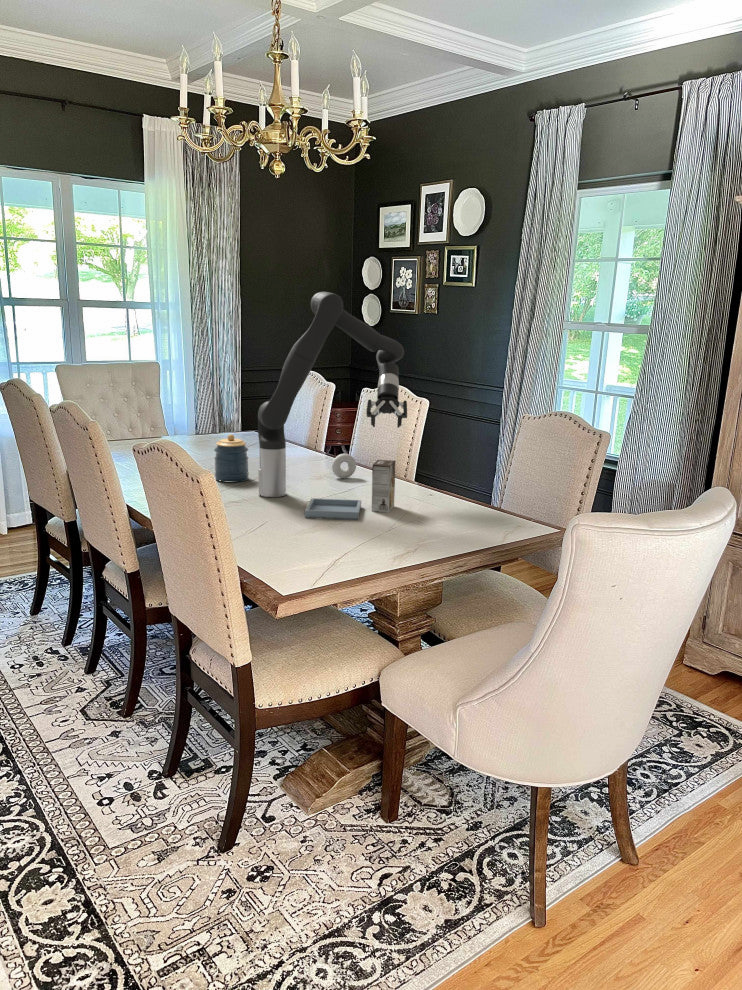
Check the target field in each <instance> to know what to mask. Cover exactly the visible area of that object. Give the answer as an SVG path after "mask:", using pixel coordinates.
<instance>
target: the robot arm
mask: <svg viewBox="0 0 742 990" xmlns="http://www.w3.org/2000/svg"><path fill="white" fill-rule="evenodd" d="M310 309H311V311H312V313H313V314H314V315H315V316H314V318H313V320H312V322H311V324H310V326H308V327H309V328H307V330H306V331H305V332H304V334H302V335H301V337H299V338H298V340H297V341H296V342H295V343H294V344H293V346H292V347H291V349H290V350H289V353H288V355H287V357H286V359H285V361H284V363H283V366H282V369H281V373H280V377H279V380H278V383H277V387H276V389H275V391H274V393H273V394H272V396H271V398H270V399H269V400H268V401H265V402H263V403H262V404H261V405H260V406H259V409H258V411H257V431H258V432H257V433H258V441H259V442H258V443H259V445H258V447H259V469H258V471H257V473H258V496H259V497H265V498H280V497H283V496H286V494H287V474H286V473H287V466H286V465H287V459H286V458H287V455H286V454H287V449H286V448H287V444H286V443H287V442H286V441H287V440H286V436H285V424H286V423H287V420H288V419H289V415H290V412H291V409H292V407H293V405H294V403H295V400H296V397H297V395H298V393H299V392H300V391H301V389H302V387H303V385H304V384H305V382H306V379H307V378H308V377H309V374H310V372H311V370H312V369H313V367H314V364H315V363H316V361H317V358H318V356H319V354H320V352H321V350H322V349H323V346H324V344H325V342H326V339H327V338H328V336H329V334H330V333H331V331H332V330H333V328H334V327H335V326H336V327H337V328H339V329H340V330H342V331H343V332H344V333H346V334H347V335H348V336H350V337H351V338H352V339H353V340H355V341H356V342H357V343H358V344H360V345H361V346H363V347H364V348H366V350H367V351H370V352H373V353H375V352H376V355H375V358H376V362H377V366H378V370H379V377H378V383H377V392H376V393H377V395H376V400H375V401H372V400H371V399H368V400H367V405H366V412H365V413H366V417H367V418H370V425H371V426H372V428H375V427H376V418H377V417H378V416H380V415H381V414H382V415H383V414H393V415H394V417H397V424H396V425H397V429H398V428H400V427H401V426H402V424H403V423H402V420H403V419H408V402H407V400H404V401H402V402H401V401H399V390H400V382H399V381H400V380H399V377H400V376H399V375H400V373H399V372H400V371H399V367H398V365H397V364H396V362H398V361H400V360H402V359H403V357H404V356H405V355H404V354H405V350H404V347H403V345H402V344H401V343H400V342H398V341H397V340H396V339H393V338H391V337H388V336H386V335H383V334H381V333H379V332H378V331H376V329H374V328H373V327H371V326H370V325H368V324H367V323H365V322H363V320H360V319H358V318H357V317H355V316H353V315H352V314H350V313H349V312H348V311H346V310H345V309H344V301H343V299H342V298H341V296H340V295H338V294H336V293H334V292H329V291H319V292H316V293H315V294H314V295H313V296H312V297H311V300H310ZM374 406H375V408H374ZM399 407H401V409H403V411H402V412H401V411H400V409H399ZM373 408H374V409H373ZM372 409H373V410H372ZM260 495H261V496H260Z"/></svg>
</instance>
